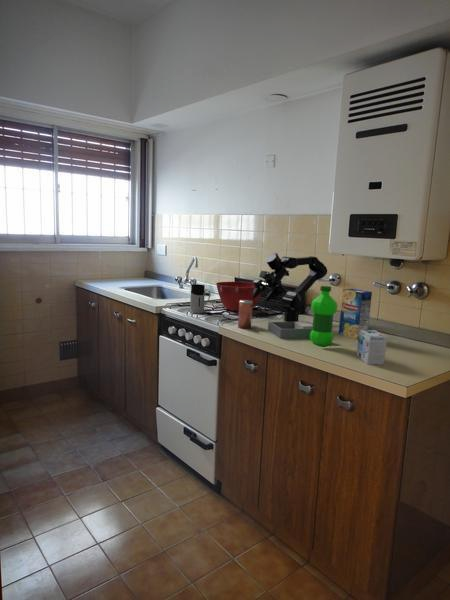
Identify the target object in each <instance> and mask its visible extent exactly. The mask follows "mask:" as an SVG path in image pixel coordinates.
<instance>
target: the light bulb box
mask: <svg viewBox="0 0 450 600" xmlns="http://www.w3.org/2000/svg"><path fill="white" fill-rule="evenodd" d="M387 340H388V336H387V335H385V334H383V333H381V332H379V331H378V330H376V329H368V330H359V337H358V340H357V348H356V357H357V358H359V360H361V361H362V362H364V364H365V365H375V364H378V365H379V366H381V365H383V366H384V365H385V358H386V351H387V342H388V341H387Z"/></svg>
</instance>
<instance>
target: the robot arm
mask: <svg viewBox="0 0 450 600" xmlns="http://www.w3.org/2000/svg"><path fill="white" fill-rule="evenodd" d="M265 262H266V264H267V265H268V267H269V268H270V269H271V270H269V271H266V270H261V271H260V274H259V275H258V277H259V278H262V279H263V280H262V279H258V278H255V279H254V280H253V281H252V283H254V285H255V291H254V294H253V298H255V297H257V296H258V295H259V294H261V295H262V293H263V291H265V289H269V290H270V291H269V293H268V294H267V295H266V297H265V299H264V300H265V302H268V301H270V300H272V299H274V298H277V297H279V296H281V295H282V296H283V297H282V303H281V304H282V306H283V310H285V312H284V318H283V322H300V321H299V316H300V315H299V314H300V312H302V310H303V306H302V304H301V301H302V300H301V299H302V297H303V296H304V295H305V294H306V293H307V292H308V290H309V289H310V288H312V286H313V285H314V284H315V283H316V282H317V281H319V280H320V279H323V278H325V276H327V274H328V268H327V267H326V265H325V264H324V262H321V261H320V260H319V258H318V257H316V256H310V255H309V256H305V257H289V256H282V257H281V258H280V256H279V254H278V252H273V253H271V254H270V255H268V256H267V257H266V258H265ZM307 265H308V268H309V272H308V273H309V274H308V276H306V278H304V279H303V281H302V282H301V283H300V284H299V285H298V286H297V287H296V288H295V289H294V291H291V290H289V291H287V292H286V288H285V286H284V285H283V284H282V283H283V282H282V279H283V278H284V277H285V276H286V277H289V276H290V271H289V270H287V269H290V270H293V269H295V268H297V267H299V266H307ZM263 281H264V282H263Z"/></svg>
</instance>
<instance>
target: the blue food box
mask: <svg viewBox="0 0 450 600" xmlns="http://www.w3.org/2000/svg"><path fill="white" fill-rule="evenodd" d="M341 293H342V296H341V303H340V304H341V305H340V314H339V315H340V317H339V328H338V335H341V336H345V337H349V338H351V339H354V340H357V341H358V337H359V330H369V325H370V318H371V317H370V315H371V306H372V298H373V291H369V290H363V289H358V288H357V289H356V288H342V292H341Z"/></svg>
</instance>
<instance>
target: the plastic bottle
mask: <svg viewBox="0 0 450 600" xmlns="http://www.w3.org/2000/svg"><path fill="white" fill-rule="evenodd" d="M319 291H320V292H321V294H319V295H317V296H316V297H315V298H313V300H312V301H311V307H310V308H311V311H312V312H313V319H312V324H313V329H312V331H311V332H310V338H309V339H310V341H311V343H312V344H315V345H317V346H318V347H321V348H323V347H324V348H326V347H327V346H328V345H330V344H331V343H332V342H333V341H334V337H335V336H334V333H333V322H334V321H333V320H334V314H335V313H336V312H337V310H338V303H337V302H336V300H335V299H334V298H333V297H332V296H331V295H330V293H331V291H332V286H330V285H329V286H328V285H321V286H320V289H319Z"/></svg>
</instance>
